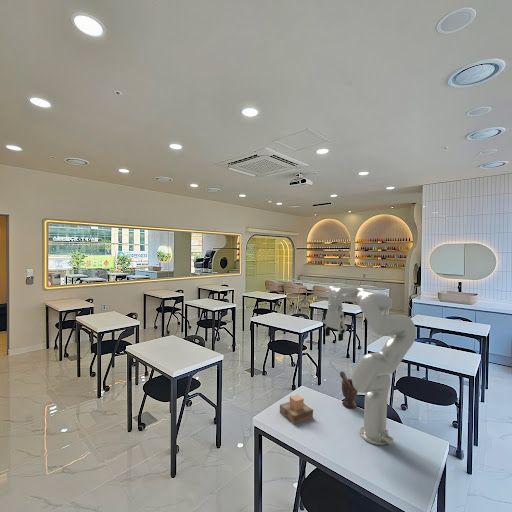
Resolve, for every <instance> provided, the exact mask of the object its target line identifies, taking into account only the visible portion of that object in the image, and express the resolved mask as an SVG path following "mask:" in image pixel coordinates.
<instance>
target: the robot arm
mask: <svg viewBox="0 0 512 512" xmlns="http://www.w3.org/2000/svg"><path fill="white" fill-rule="evenodd" d="M343 302H356V304H357V305H358V307H360V310H361V312H362V313H363V315H364V317H365V319H366V320H367V322H368V324H369V325H370V327H371V329H372V330H373V332H374V333H376V335H378V336H381V337H389V339H388V340H387V341H386V342H385V343H384V345H383V347H382V348H381V350H379V351H376V352H370V353H366V354H364V355H363V356H362V357H361V358H360V360H359V362H358V364H357V365H356V367H355V369H354V371H353V374H352V376H351V379H352V383H353V386H354V388H355V389H356V390H357V391H358V393H362V394H364V407H363V408H364V412H363V426H362V427H360V429H359V435H360V436H361V438H363V440H365V441H366V442H368V443H370V444H372V445H376V446H377V445H378V446H385V445H387V444H389V445H390V446H392V445H393V444H394V443H393V441H394V437H393V436H391V435H389V430H388V429H387V416H388V414H387V413H388V410H387V409H388V397H389V396H388V395H389V391H390V386H391V381H392V379H391V375H390V374H393V373H394V372H395V371H396V370H397V368H398V367H399V365H400V364H401V362H403V359H404V357H405V356H406V354H407V353H408V352H409V350H410V349H411V347H413V345H414V342H415V339H416V334H417V332H416V326H415V323H414V321H413V320H412V318H411V317H409V316H408V315H404V314H383V313H387V312H389V311H390V310H391V309H392V307H393V300H392V298H391V297H390V296H388V295H387V294H385V293H380V292H375V291H370V290H366V288H360V287H355V286H353V287H352V286H351V287H349V286H348V287H347V286H346V287H342V286H339V285H330V286H329V287H328V302H327V303H328V304H327V311H326V315H325V319H322V324H323V327H324V330H325V333H324V334H325V335H324V336H325V337H329V336H331V328H332V329H335V330H337V332H338V335H337V336H338V337H337V341H339V342H340V341H341V342H342V341H343V340H344V334H345V332H347V329H348V326H347V325H346V324H345V315H344V307H343Z"/></svg>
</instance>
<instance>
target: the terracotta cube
mask: <svg viewBox="0 0 512 512" xmlns="http://www.w3.org/2000/svg"><path fill="white" fill-rule="evenodd" d="M304 399H305V398H303V397H302V396H300V395H299V394H294V395H292V396H289V402H290V407H291V408H292V409H294V410H295V411H297V410H300V409H303V403H304Z"/></svg>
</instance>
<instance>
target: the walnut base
mask: <svg viewBox="0 0 512 512" xmlns="http://www.w3.org/2000/svg"><path fill="white" fill-rule="evenodd" d="M279 413H280V414H281V415H282V417H283V416H284V417H285V418H286V419H287V420H288V421H289V422H290V423H291V424H293V425H297V424H300V423H302V422H305V421H308V420H311V419H313V417H314V410H313V409H312V408H311V407H309V406H308V405H306V404H305V403H304V402H303V409H300V410H297V411H295V410H294V409H292V408H291V407H290V401H287V402H285V403H281V404H279Z"/></svg>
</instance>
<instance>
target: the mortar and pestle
mask: <svg viewBox="0 0 512 512" xmlns="http://www.w3.org/2000/svg"><path fill="white" fill-rule="evenodd" d="M339 376H340V378H341V392H342V396H343V397H344V399H343V400H342V402H341V403H342V405H343V407H344V408H347V409H355V408H357V403H356V401H355V400H354V399H356V398H357V396H358V393H359V391H357V390H356V389H355V388H354V386H353V383H352V378H348V377H347V374H346V373H345V371H340V372H339Z"/></svg>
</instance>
